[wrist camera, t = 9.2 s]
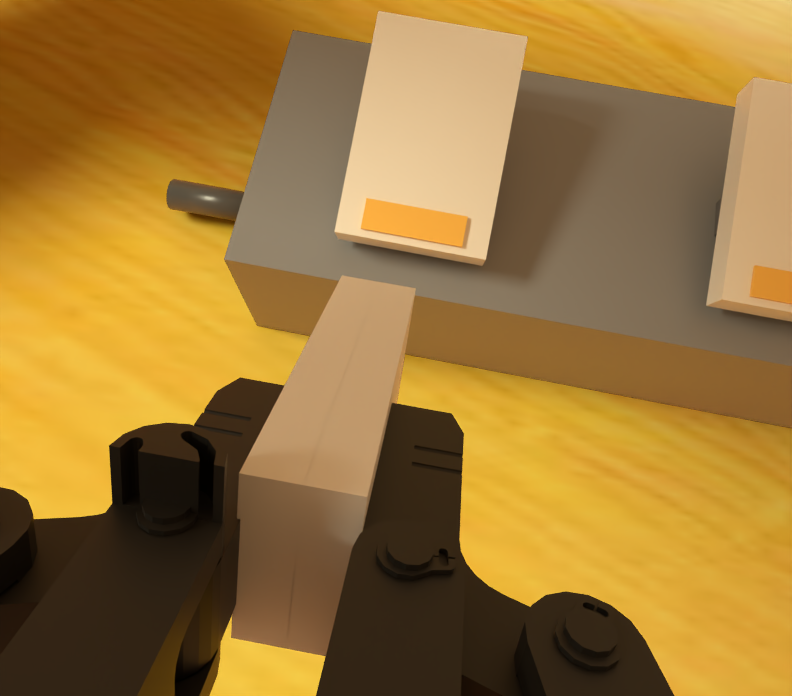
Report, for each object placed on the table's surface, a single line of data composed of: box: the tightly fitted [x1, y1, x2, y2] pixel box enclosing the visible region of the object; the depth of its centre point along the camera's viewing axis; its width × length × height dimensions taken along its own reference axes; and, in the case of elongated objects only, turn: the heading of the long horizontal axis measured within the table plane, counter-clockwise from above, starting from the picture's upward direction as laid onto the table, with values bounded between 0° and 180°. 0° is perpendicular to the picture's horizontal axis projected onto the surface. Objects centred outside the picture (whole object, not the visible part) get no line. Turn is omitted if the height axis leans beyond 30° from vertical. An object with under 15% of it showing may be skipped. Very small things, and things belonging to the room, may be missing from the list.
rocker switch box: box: [167, 30, 792, 428], centre depth 33 cm, size 36×12×9 cm, turn 79°
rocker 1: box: [334, 11, 528, 266], centre depth 28 cm, size 6×9×2 cm, turn 169°
